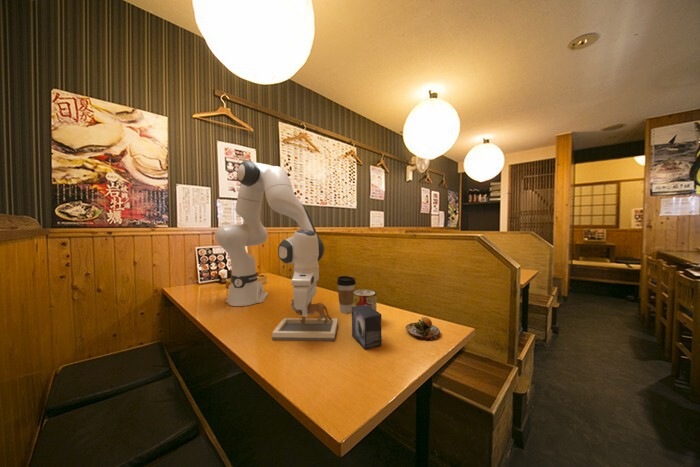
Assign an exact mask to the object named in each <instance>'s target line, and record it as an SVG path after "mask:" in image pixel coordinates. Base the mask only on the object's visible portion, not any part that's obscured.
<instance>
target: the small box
mask: <svg viewBox="0 0 700 467" xmlns="http://www.w3.org/2000/svg"><path fill="white" fill-rule="evenodd" d="M351 337H352V338H354V340H355V341H357V343H358V344H359V345H360V346H361V347H362V348H363V350H364V351H365V350H366V351H367V350H370V349H371V350H372V349H375V348H379V347H382V345H383V344H382V314H381V313H380V312H379V311H377V309H376V310H374V309H373V308H371V307H370V306H368V305H367V304H366V305H361V306H355V307H354V306H353V307H352V312H351Z"/></svg>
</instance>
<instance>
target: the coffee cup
mask: <svg viewBox="0 0 700 467" xmlns="http://www.w3.org/2000/svg"><path fill="white" fill-rule="evenodd" d="M336 284H337V287H338V288H337V294H338V295H337V296H338V303H339V304H338V305H339V311H340V313H344V314H352V307H354V301H353V292H354V291H356V288H355V286H356V284H357V283H356V278H355V277H351V276H348V275H342V276H341V275H340V276H338V277H337V282H336Z"/></svg>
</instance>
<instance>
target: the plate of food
mask: <svg viewBox="0 0 700 467" xmlns="http://www.w3.org/2000/svg"><path fill="white" fill-rule="evenodd" d="M405 330H406V331H407V332H408V333H409V334H411V335H413V336H415V337H418V338H419V339H420V341H424V342H426V341H427V342H428V339H429V340H431V341H435V340H437V339H438V338H441V331H440V329H439V327H437V326H436V325H433V322H432V320H431V319H430V318H429V317H426V316H422V317H421V318H420V319H418V321H417V322H410V323H409V324H406V326H405Z"/></svg>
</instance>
